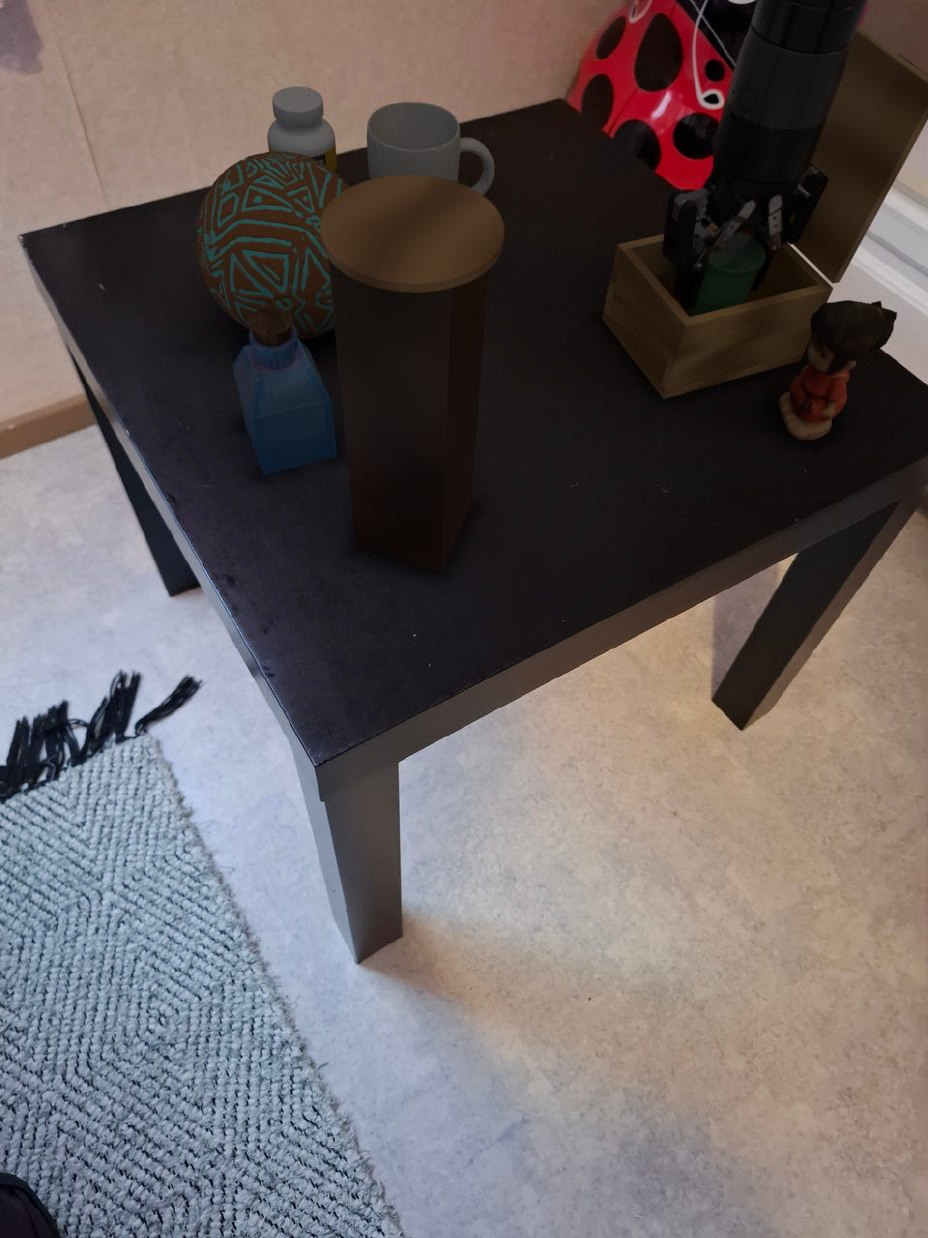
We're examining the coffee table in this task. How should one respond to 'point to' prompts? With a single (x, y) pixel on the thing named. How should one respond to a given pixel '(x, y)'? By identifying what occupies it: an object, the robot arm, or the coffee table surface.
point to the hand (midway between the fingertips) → (715, 293)
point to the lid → (862, 149)
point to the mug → (421, 144)
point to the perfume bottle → (282, 395)
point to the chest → (709, 319)
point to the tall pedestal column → (410, 354)
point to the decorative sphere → (269, 239)
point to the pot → (728, 274)
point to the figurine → (832, 363)
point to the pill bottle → (302, 126)
